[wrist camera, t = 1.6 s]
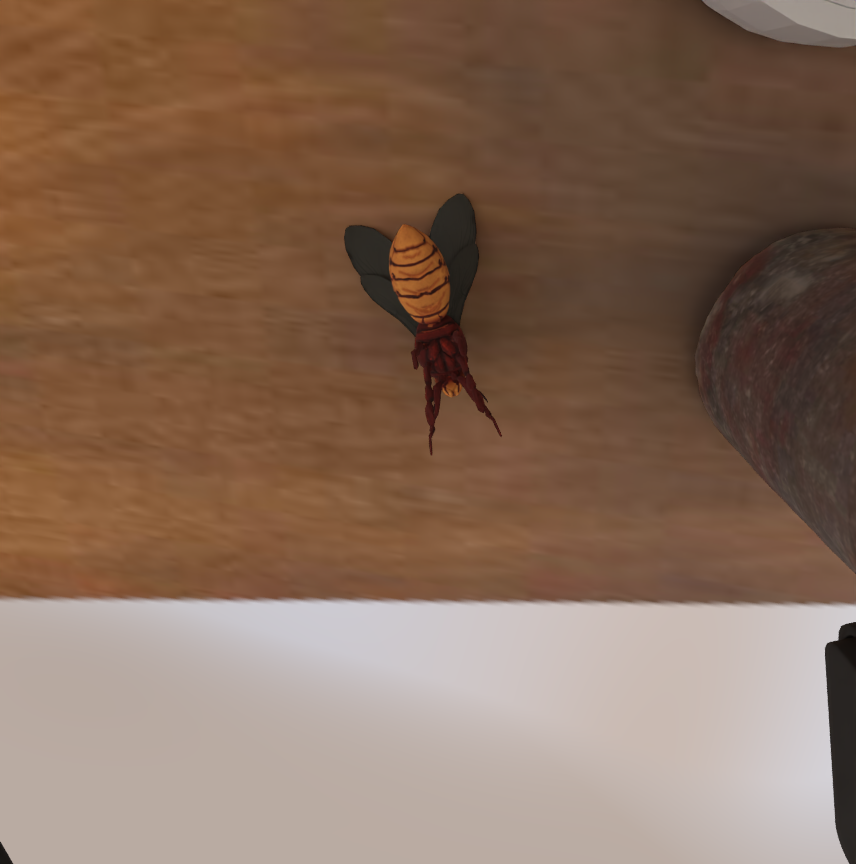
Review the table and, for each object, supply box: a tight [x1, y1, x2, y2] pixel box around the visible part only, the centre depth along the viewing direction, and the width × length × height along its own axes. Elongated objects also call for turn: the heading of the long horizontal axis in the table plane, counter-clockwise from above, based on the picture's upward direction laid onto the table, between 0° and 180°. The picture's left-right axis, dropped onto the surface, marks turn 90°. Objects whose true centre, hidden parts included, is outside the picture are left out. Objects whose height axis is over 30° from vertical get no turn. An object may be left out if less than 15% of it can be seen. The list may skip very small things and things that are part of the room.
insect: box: [344, 194, 502, 455], centre depth 22 cm, size 4×6×5 cm, turn 16°
